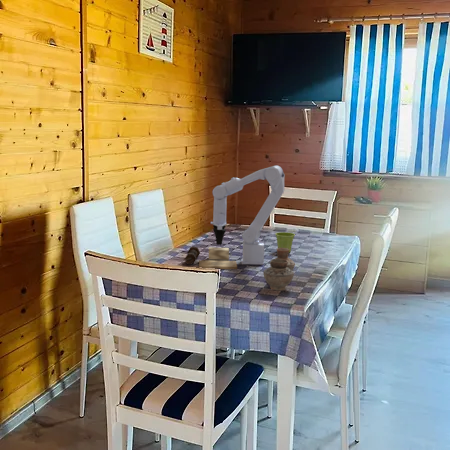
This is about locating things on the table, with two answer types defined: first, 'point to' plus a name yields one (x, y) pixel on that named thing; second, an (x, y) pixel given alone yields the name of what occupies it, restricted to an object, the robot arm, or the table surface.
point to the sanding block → (218, 254)
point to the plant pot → (285, 240)
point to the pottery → (280, 270)
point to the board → (218, 264)
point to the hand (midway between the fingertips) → (218, 242)
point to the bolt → (192, 255)
